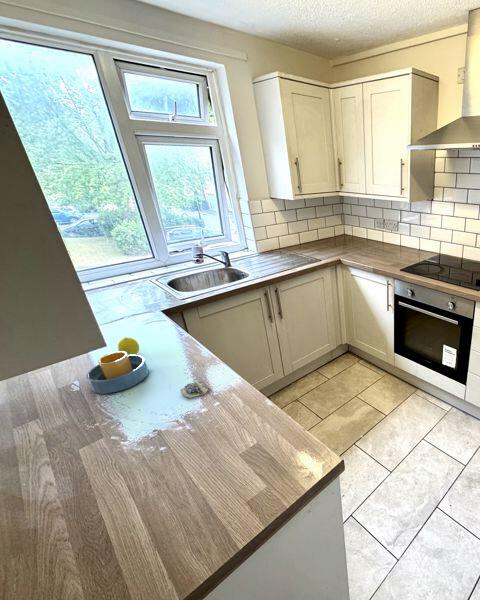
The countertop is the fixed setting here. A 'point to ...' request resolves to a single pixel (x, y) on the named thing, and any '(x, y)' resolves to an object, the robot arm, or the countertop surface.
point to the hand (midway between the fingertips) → (78, 324)
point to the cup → (115, 365)
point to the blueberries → (194, 389)
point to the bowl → (119, 383)
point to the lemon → (128, 346)
